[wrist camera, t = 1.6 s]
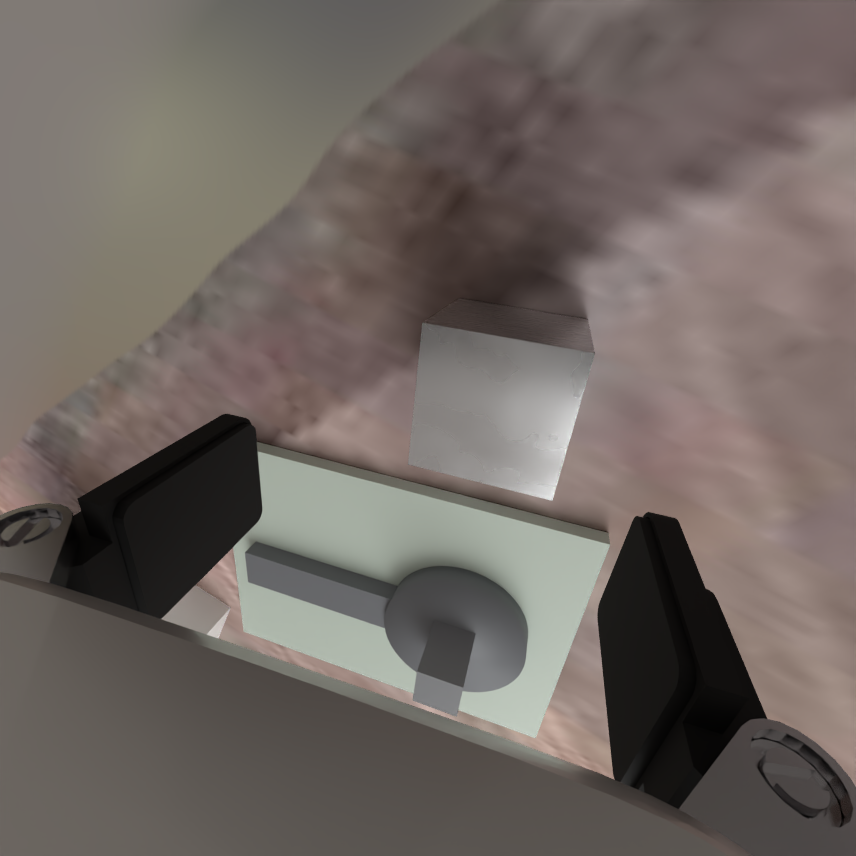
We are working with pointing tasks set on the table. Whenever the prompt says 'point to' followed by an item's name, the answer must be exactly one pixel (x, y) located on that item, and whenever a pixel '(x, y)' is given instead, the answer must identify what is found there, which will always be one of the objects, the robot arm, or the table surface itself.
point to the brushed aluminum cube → (499, 394)
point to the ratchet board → (407, 544)
